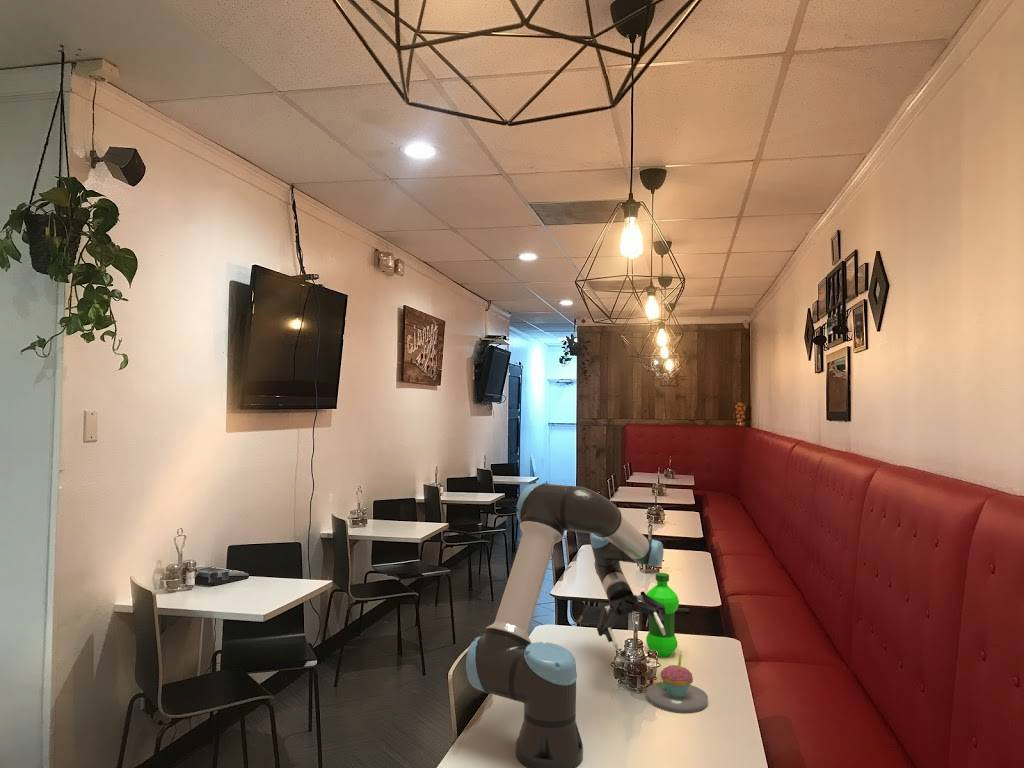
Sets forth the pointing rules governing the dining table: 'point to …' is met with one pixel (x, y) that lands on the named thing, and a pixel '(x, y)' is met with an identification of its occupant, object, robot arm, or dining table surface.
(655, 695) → the slate plate
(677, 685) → the cupcake
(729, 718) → the dining table surface
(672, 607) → the plastic bottle
